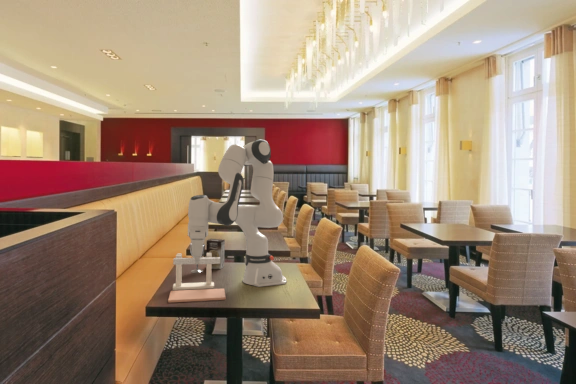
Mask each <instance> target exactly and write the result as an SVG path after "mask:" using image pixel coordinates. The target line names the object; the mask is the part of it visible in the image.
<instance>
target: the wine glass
mask: <svg viewBox="0 0 576 384" xmlns="http://www.w3.org/2000/svg"><path fill="white" fill-rule="evenodd" d="M205 248H206V244H205V243H203V250H202V256H201V257H200V258H202V257H203V256H204V255H205V250H206V249H205ZM189 251H190V255H191V256H192V258H195V257H193V255H192V245H191V243H190V245H189ZM195 265H196V269H192V270H190V273H193V274H201V272H202V273H204V270H203V269H199V264H195Z"/></svg>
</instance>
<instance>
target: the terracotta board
mask: <svg viewBox="0 0 576 384" xmlns="http://www.w3.org/2000/svg"><path fill="white" fill-rule="evenodd" d="M226 299H227V298H226V291H225V288H223V287H222V288H208V289H186V290H170V293H169V296H168V299H167V302H168V303H169V304H170V303H183V302H186V303H189V302H203V301H204V302H205V301H206V302H207V301H224V300H226Z"/></svg>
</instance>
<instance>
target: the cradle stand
mask: <svg viewBox="0 0 576 384" xmlns="http://www.w3.org/2000/svg"><path fill="white" fill-rule="evenodd" d="M207 257H212V253H207ZM175 258H183V254H182V253H176V255H175ZM182 266H183V264H180V265H175V283H173V284H172V291H179V290H201V289H215V282H214V281H212V264H205V268H206V270H205V272H206V273H205V274H206V277H205V280H206V281H205V282H204V281H203V282H201V281H200V282H199V281H198V282H182V281H183V280H182V277H183V276H182V269H183V268H182Z"/></svg>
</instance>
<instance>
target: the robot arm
mask: <svg viewBox="0 0 576 384" xmlns="http://www.w3.org/2000/svg"><path fill="white" fill-rule="evenodd" d="M271 153H272V150H271V146H270V144H269V143H268V141H267V140H265V139H256V140H254V141H251V142H248V143H246V144H245V145H243V146H242V145H240V144H235V143H234V144H231V145H230V146H229V147H228V148H227V150H225V153H224V154H223V156H222V157H221V158H222V159H221V160H220V162H219V165H218V168H217V172H218V175H219V177H220V179H221V180H223V181H224V182H225V183H227V184H229V191H228V194H227V199H226V200H225V201H224V202H216V201H213V200H211V199H209V197H208V195H205V194H197V195H193V196H191V197H190V199H189V202H188V207H187V210H188V212H187V217H188V222H187V236H188V238H189V239H190V242H191V243H190V244H191V245H192V255H193V256H192V255H191V256H192V258H193V257H195V264H194V265H196V264H198V265H200V264H199V259H200V257H201V256H202V250H203V244H205V243H204V242H205V240H206V238H207V237H208V236H209V223H210V224H218V225H221V226H222V225H223V226H226V227H230V226H231V225H233V224H234V223H235V224H236V225H237V226H238V227H239V228H240V229H241V230H242V232H243V234H244V238H245V248H246V249H245V250H246V251H245V252H246V253H245V257H244V264H245V265H244V266H245V268H244V275H243V278H242V280H241V281H242V282H243V283H244V284H247V285H251V286H254V287H260V288H261V287H268V286H270V287H271V286H277V285H285V284H287V278H286V276H284V275H283V270H282V269H281V267H280V266H279V265H277V263H275V262H273V261H274V258H275V257H274V256H273V255H272V254H271V253H269V240H268V238H267V236H266V235H265V234H263V233H261V232H260V231H259V230H260V229H258V228H265V229H266V228H267V229H269V228H270V229H271V228H277V227H280V226H281V224H282V223H283V220H284V215H283V212H282V210H281V208H280V207H278V205H277V204H276V203H275V201H274V197H273V187H274V186H273V183H274V177H275V175H274V171H275V170H274V164H273V162H272V161H271V158H272V155H271ZM249 166H252V170H253V171H252V172H253V173H252V177H251V184H250V191H249V192H250V195H251V197H253V198H255V199H256V200H258V201H259V204H258V205H257V204H256V205H255V204H244V205H243V204H242V205H239V204H240V199H241V195H242V191H243V186H244V176H243V175H242V171H243V169H244V167H249ZM202 257H203V256H202ZM202 257H201V258H202Z"/></svg>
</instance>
